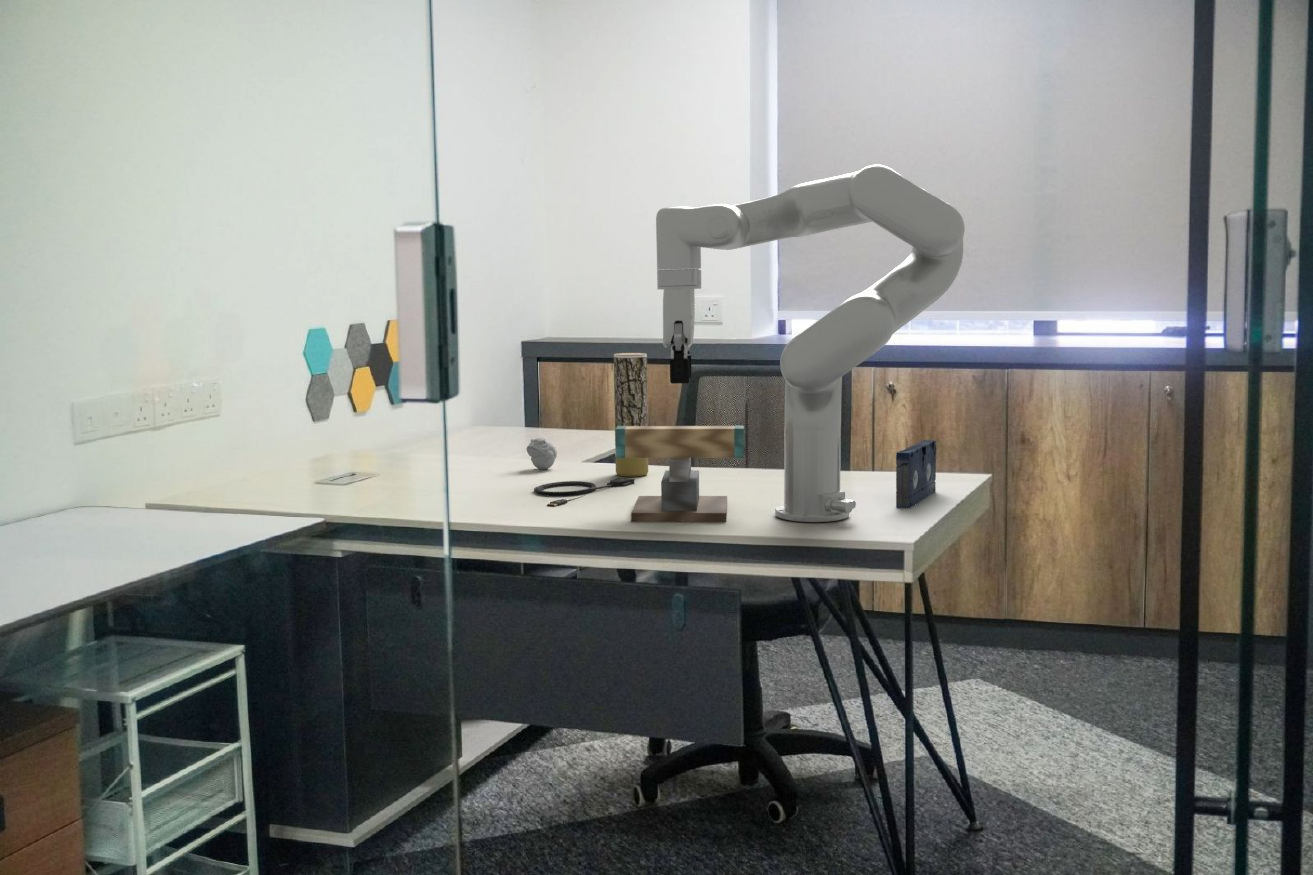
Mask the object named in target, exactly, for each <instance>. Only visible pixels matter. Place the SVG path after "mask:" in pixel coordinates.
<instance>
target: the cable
mask: <svg viewBox="0 0 1313 875" xmlns="http://www.w3.org/2000/svg"><path fill="white" fill-rule="evenodd" d="M631 485H635V478H631V477H615V478H613V479H611V480H610V481H609V482H607V483H606V485H601V486H596V484H595V483H593V482H588V481H583V480H582V481H580V480H579V481H577V480H576V481H575V480H573V481H572V480H569V481H556V482H549V483H545V484H544V483H543V484H541V485H538V486H535V487H534V488H533V491H534V492H535V493H536V494H537V495H539V496H543V497H551V498H552V497H553V498H554V497H555V498H556V497H557V498H558V497H559V498H562V497H563V498H562V499H556V500H553V501H550V502H549V503H547V504H546V507H553V508H556V507H560V506H564V505H566V504H568V502H571V501H574V500H577V499H580V498H583V497H585V496H586V495H587V494H588V495H589V494H591V493H594V492H596V490H602V489H606V488H616V487H617V488H619V487H620V488H621V487H622V488H623V487H627V486H631ZM559 487H585V488H583V489H578V490H570V491H568V490H567V491H545V490H546V489H547V490H548V489H551V488H559ZM575 496H576V497H575ZM577 496H579V497H577ZM564 497H565V499H564ZM566 497H574V498H571V499H566Z"/></svg>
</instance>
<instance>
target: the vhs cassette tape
mask: <svg viewBox="0 0 1313 875" xmlns="http://www.w3.org/2000/svg"><path fill="white" fill-rule="evenodd" d="M936 441H937V440H932V439H931V440H929V439H923V441H922V440H921V441H919V442H917V443H915V444H912V445H910V446H909V447H906V448H905V449H903V450H900V451H897V452H896V454H895V455H896V457H895V463H896V467H895V468H896V469H895V476H896V477H895V481H896V482H895V485H896V486H895V488H896V489H895V492H896V493H895V500H896V501H895V508H897V509H908V508H910V509H911V508H913V507H914V506H916V505H917V504H919V503H920V502H922V501H923V499H924V500H925V499H927V498H929V497H930V496H931V495H933V494H934V493H936V488H937V487H936V479H937V478H936V477H937V475H936V474H937V465H936V464H937V463H936V462H937V442H936ZM915 504H916V505H915Z"/></svg>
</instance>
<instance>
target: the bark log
mask: <svg viewBox="0 0 1313 875" xmlns="http://www.w3.org/2000/svg"><path fill="white" fill-rule="evenodd" d="M613 388H614V390H613V392H614V395H613V396H614V398H613V400H614V403H613V404H614V446H615V447H614V448H615V449H614V451H615V457H614V458H615V474H616V475H617V476H620V477H623V478H637V477H643V476H646V475H648V473H649V458H616V428H617V426H649V419H648V418H649V416H648V415H649V414H648V413H649V409H648V408H649V407H648V402H649V401H648V354H647V353H646V352H645V353H644V352H643V353H642V352H620V353H614V354H613Z"/></svg>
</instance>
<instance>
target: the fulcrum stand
mask: <svg viewBox="0 0 1313 875" xmlns="http://www.w3.org/2000/svg"><path fill="white" fill-rule="evenodd" d="M668 463H669V464H668V468H669V469H666V470H664V473H663V477H662V479H661V482H660V493H661V494H660V495H638V497H637V499H636V501H635V503H634V506H633V509H632V510H631V513H630V514H631V515H630V518H631V519H630V522H633V523H634V522H635V523H637V522H639V523H642V522H643V523H646V522H647V523H649V522H651V523H652V522H653V523H654V522H655V523H656V522H657V523H659V522H662V523H666V522H668V523H669V522H670V523H675V522H676V523H695V522H696V523H726V522H727V513H728V496H727V495H700V470H699V469H697V470H692V458H669V462H668Z"/></svg>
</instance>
